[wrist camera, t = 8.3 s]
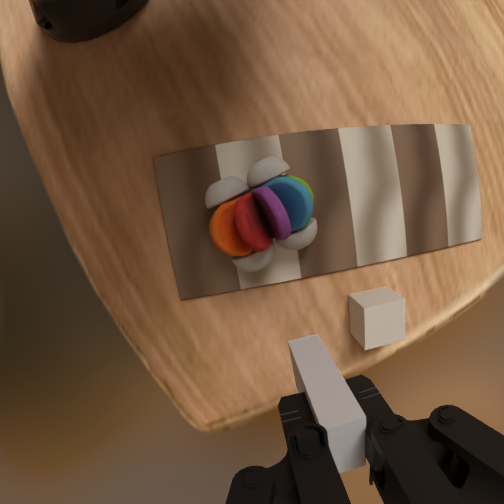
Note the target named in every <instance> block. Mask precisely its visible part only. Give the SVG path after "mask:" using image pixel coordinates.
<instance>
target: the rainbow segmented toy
mask: <svg viewBox="0 0 504 504" xmlns="http://www.w3.org/2000/svg"><path fill="white" fill-rule="evenodd" d="M288 170H290V166H289V165H288V164H287V163H286V162H285V161H284V160H282V159H280V158H278V157H274V156H270V157H267V158H265V159H262V160H260V161H258V162H256V163H254V164H253V165H251V167H250V169H249V171H248V174H247V184H246V183H245V182H244V181H242V180H241V179H239V178H236V177H232V176H229V177H226V178H224V179H222V180H220V181H218V182H215V183H214V184H212V185H210V186H209V188H208V190H207V192H206V196H205V203H206V207H207V208H208V209H209V208H213V207H215V206H219V207H218V208H217V209H216V210H215V211H214V213H213V215H212V217H211V220H210V224H209V231H210V235H211V238H212V241H213V243H214V244H215V245H216V247H217V248H218V249H220V250H221V251H222V252H224V253H226V254H228V255H230V256H233V257H232V262H233V263H234V264H235V265H236V266H237V267H238V268H240V269H242V270H244V271H247V272H254V271H258V270H261V269H263V268H264V267H266V266H267V265H269V264H270V262H271V261H272V259H273V256H274V253H275V246H274V242H273V238H275V240H276V242H277V243H278V244H279V245H281V246H282V247H284V248H286V249H289V250H299V249H302V248H304V247H306V246H308V245H309V244H311V243H312V241H313V240H314V239H315V236H316V234H317V221H316V219H315V218H311V216H312V213H313V193H312V190H311V188H310V186H309V185H308V184H307V183H306V182H305V181H304V180H302V179H300V178H298V177H296V176H291V175H281V174H283V173H285V172H287V171H288ZM251 188H255V189H253V190H252V191H251V193H247V194H246V192H247V190H249V189H251Z"/></svg>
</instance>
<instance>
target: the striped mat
mask: <svg viewBox="0 0 504 504" xmlns="http://www.w3.org/2000/svg"><path fill="white" fill-rule="evenodd" d="M270 156H274V157H278V158H280V159H282V160H284V161H285V162H286V163H287V164H288V165H289V166H290V170H288V171H287V172H285V173H283V174H281V175H291V176H296V177H298V178H300V179H302V180H304V181H305V182H306V183H307V184H308V185H309V186H310V188H311V190H312V193H313V213H312V216H311V218H315V219H316V221H317V234H316V236H315V239H314V240H313V241H312V243H311V244H309V245H308V246H306V247H304V248H302V249H299V250H289V249H286V248H284V247H282V246H281V245H279V244H278V243H277V242H276V240H275V238H273V242H274V246H275V253H274V256H273V259H272V261H271V262H270V264H269V265H267V266H266V267H264V268H263V269H261V270H258V271H254V272H247V271H244V270H242V269H240V268H238V267H237V266H236V265H235V264H234V263H233V262H232V257H233V256H230V255H228V254H226V253H224V252H222V251H221V250H220V249H218V248H217V247H216V245H215V244H214V243H213V241H212V238H211V235H210V231H209V224H210V220H211V217H212V215H213V213H214V211H215V210H216V209H217V208H218V207H219V206H215V207H213V208H209V209H208V208H207V207H206V203H205V196H206V192H207V190H208V188H209V186H210V185H212V184H214V183H215V182H218V181H220V180H222V179H224V178H226V177H229V176H232V177H236V178H239V179H241V180H242V181H244V182H245V183H246V184H247V174H248V171H249V169H250V167H251V165H253V164H254V163H256V162H258V161H260V160H262V159H265V158H267V157H270ZM153 162H154V168H155V174H156V180H157V186H158V192H159V197H160V203H161V208H162V214H163V219H164V224H165V229H166V234H167V239H168V244H169V249H170V254H171V258H172V263H173V267H174V272H175V276H176V281H177V285H178V289H179V294H180V298H181V300H183V299H189V298H195V297H201V296H207V295H212V294H218V293H224V292H230V291H235V290H241V289H246V288H252V287H257V286H263V285H268V284H274V283H279V282H284V281H289V280H295V279H300V278H305V277H310V276H315V275H320V274H325V273H330V272H335V271H340V270H345V269H350V268H354V267H359V266H364V265H369V264H373V263H378V262H383V261H387V260H392V259H396V258H401V257H405V256H410V255H414V254H419V253H423V252H427V251H432V250H436V249H440V248H445V247H449V246H453V245H457V244H461V243H466V242H470V241H474V240H478V239H482V218H481V203H480V192H479V182H478V173H477V165H476V158H475V152H474V145H473V140H472V134H471V129H470V125H459V124H411V125H382V126H364V127H350V128H337V129H326V130H316V131H306V132H297V133H289V134H281V135H274V136H266V137H259V138H253V139H246V140H240V141H234V142H228V143H222V144H217V145H211V146H206V147H201V148H196V149H191V150H186V151H181V152H176V153H171V154H167V155H162V156H158V157H154V158H153ZM253 189H255V188H251V189H249V190H247V192H246V194H247V193H251V191H252V190H253Z"/></svg>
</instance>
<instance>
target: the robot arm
mask: <svg viewBox="0 0 504 504" xmlns="http://www.w3.org/2000/svg"><path fill="white" fill-rule="evenodd" d="M146 1H147V0H29V3H30V6H31V9H32V12H33V15H34V17H35V20H36V23H37V24H38V26H39V27H40V28H41V29H42V30H43V31H44V32H45V33H46V34H48V35H49V36H50V37H51V38H53V39H55V40H57V41H61V42H81V41H86V40H89V39H93V38H96V37H98V36H101V35H103V34H105V33H107V32H109V31H111V30H113V29H115V28H116V27H118V26H119V25H121V24H122V23H124V22H125V21H127V20H128V19H129V18H130V17H132V16H133V15H134V14H135V13H136V12H137V11H138V10H139V9H140V8H141V7H142V6H143V5H144V4H145V2H146ZM288 344H289V349H290V355H291V360H292V365H293V371H294V376H295V382H296V386H297V389H298V392H299V393H297V394H293V395H289V396H285V397H281V399H280V402H279V405H278V408H279V412H280V417H281V421H282V425H283V429H284V434H285V438H286V442H287V448H288V451H287V454H286V456H285V457H284V458H283V459H282V460H281V461H280V462H279V463H277V464H275V465H274V466H272V467H269V468H265V467H262V466H250V467H246V468H244V469H242V470H240V471H239V472H238V473H236V474H235V476H234V478H233V480H232V483H231V487H230V490H229V494H228V497H227V500H226V504H351V503H350V500H349V497H348V495H347V492H346V490H345V487H344V485H343V482H342V480H341V477H340V474H339V473H342V472H345V471H348V470H352V469H354V468H358V467H361V466H364V465H366V458H367V460H368V462H369V464H370V476H369V482H370V485H372V484H373V481H374V483H375V485H376V487H377V490H378V492H379V494H380V496H381V498H382V500H383V502H384V504H504V435H502V434H501V433H499V432H497V431H496V430H494V429H493V428H491V427H489V426H488V425H486V424H484V423H483V422H481V421H479V420H478V419H476V418H475V417H473V416H472V415H470V414H468V413H467V412H465V411H463V410H462V409H460V408H459V407H456V406H453V405H444V406H440V407H438V408H436V409H434V410H433V411H432V412H431V415H430V417H429V418H427V419H421V420H413V421H409V420H406V419H405V418H403V417H402V416H400V415H397V414H394V413H393V411H392V410H391V408H390V407H389V405H388V404H387V403H386V401H385V400H384V398H383V397H382V395H381V394H380V393H379V391H378V390H377V388H375V385H374V384H373V383H372V381H371V380H370V379H368V378H367V377H365V376H363V375H359V376H356V377H352V378H349V379H346V380H345V379H344V378H343V376H342V374H341V373H340V371H339V369H338V367H337V366H336V364H335V362H334V361H333V359H332V357H331V356H330V354H329V352H328V350H327V349H326V347H325V345H324V344H323V342H322V340H321V339H320V337H319V335H318V334H314V335H310V336H306V337H302V338H298V339H294V340H290V341H288Z"/></svg>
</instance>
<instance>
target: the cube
mask: <svg viewBox="0 0 504 504" xmlns="http://www.w3.org/2000/svg"><path fill="white" fill-rule="evenodd" d="M348 297H349V315H350V333H351V334H352V335H353V337H354V338H355V339H356V340H357V341H358V342H359V344H360V345H361V346H362V347H363V348H364V350H368V349H372V348H376V347H380V346H383V345H387V344H391V343H394V342H398V341H401V340H405V298H404V297H402V296H401V295H399V294H398V293H396V292H395V291H393V290H391V289H390V288H388V287H387V286H385V287H380V288H376V289H371V290H366V291H361V292H357V293H352V294H348Z"/></svg>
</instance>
